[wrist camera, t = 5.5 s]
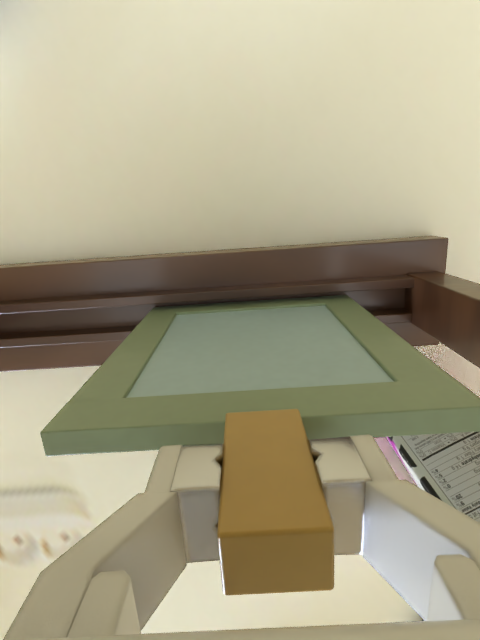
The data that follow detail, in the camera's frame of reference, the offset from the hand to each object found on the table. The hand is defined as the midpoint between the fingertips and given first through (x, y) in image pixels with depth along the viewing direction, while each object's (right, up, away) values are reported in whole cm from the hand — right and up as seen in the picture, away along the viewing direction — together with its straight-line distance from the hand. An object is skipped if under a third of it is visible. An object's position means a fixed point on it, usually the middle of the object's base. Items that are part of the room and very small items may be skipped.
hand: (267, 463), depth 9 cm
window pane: (0, +4, +15) cm, 15 cm away
